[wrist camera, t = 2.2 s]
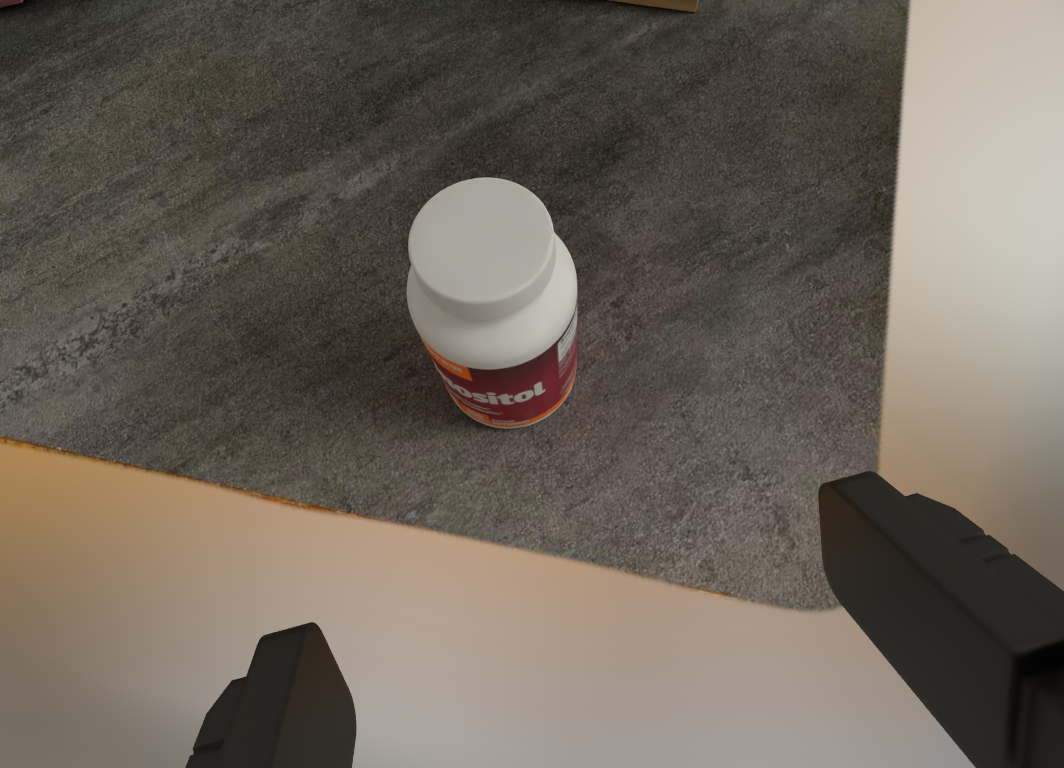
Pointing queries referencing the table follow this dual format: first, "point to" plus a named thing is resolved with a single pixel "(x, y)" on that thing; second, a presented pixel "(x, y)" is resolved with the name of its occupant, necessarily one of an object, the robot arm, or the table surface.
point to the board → (666, 4)
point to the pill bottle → (494, 301)
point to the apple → (9, 2)
